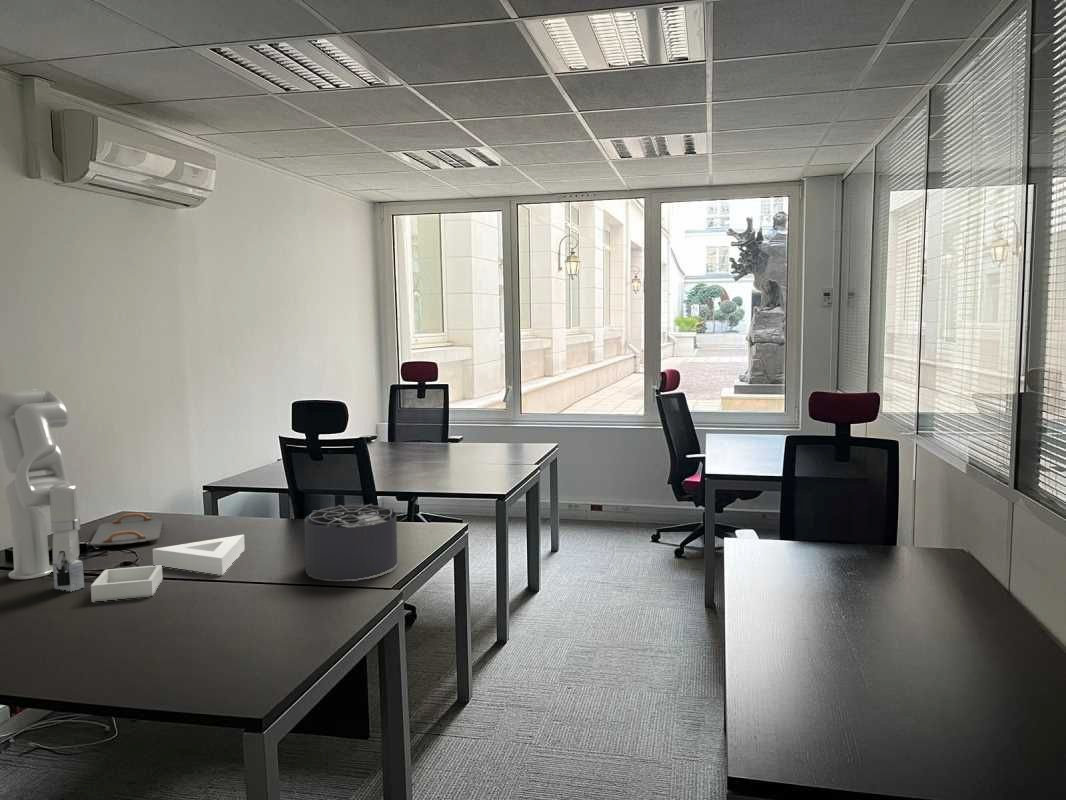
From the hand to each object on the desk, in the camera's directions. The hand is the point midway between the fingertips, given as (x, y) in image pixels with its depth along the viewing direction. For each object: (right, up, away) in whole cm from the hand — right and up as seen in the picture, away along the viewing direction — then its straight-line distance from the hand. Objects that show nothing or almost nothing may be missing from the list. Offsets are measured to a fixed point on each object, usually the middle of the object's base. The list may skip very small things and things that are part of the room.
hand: (68, 580), depth 232 cm
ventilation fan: (+82, -1, +20) cm, 84 cm away
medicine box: (0, -3, 0) cm, 3 cm away
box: (+19, -3, -2) cm, 20 cm away
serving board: (-14, +2, +61) cm, 63 cm away
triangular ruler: (+33, -1, +30) cm, 44 cm away
